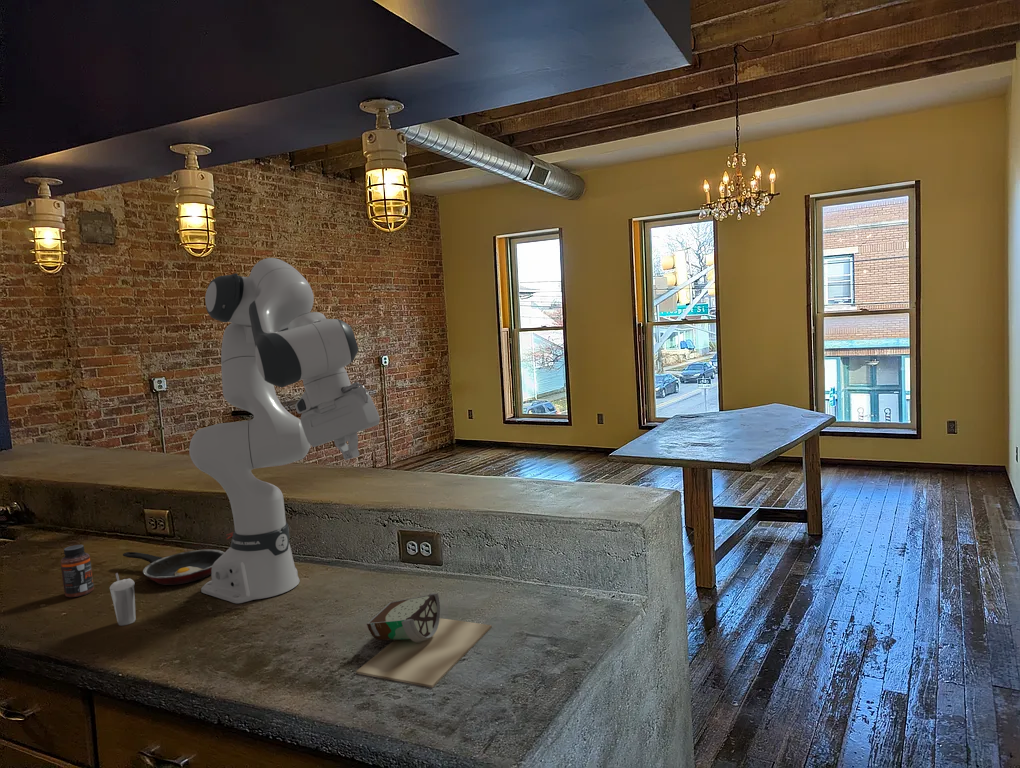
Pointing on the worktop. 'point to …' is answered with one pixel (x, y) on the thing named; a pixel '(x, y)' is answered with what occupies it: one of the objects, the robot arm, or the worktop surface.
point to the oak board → (425, 654)
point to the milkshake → (124, 600)
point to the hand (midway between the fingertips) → (352, 458)
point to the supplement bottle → (76, 572)
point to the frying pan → (178, 566)
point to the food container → (407, 619)
